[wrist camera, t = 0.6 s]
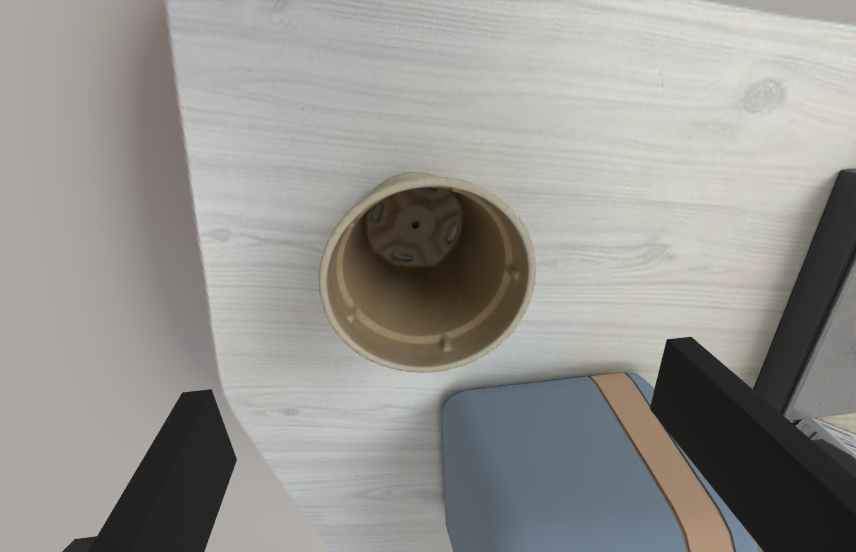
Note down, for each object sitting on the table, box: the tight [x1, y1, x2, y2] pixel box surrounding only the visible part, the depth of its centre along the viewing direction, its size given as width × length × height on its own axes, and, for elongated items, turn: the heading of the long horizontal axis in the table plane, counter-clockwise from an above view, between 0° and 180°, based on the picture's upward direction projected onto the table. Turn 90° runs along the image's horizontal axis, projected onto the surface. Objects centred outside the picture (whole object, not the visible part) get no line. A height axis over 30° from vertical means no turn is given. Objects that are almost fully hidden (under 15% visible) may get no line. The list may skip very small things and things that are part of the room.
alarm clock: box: [442, 372, 758, 552], centre depth 29 cm, size 16×16×16 cm
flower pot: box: [319, 172, 536, 372], centre depth 22 cm, size 9×9×9 cm
